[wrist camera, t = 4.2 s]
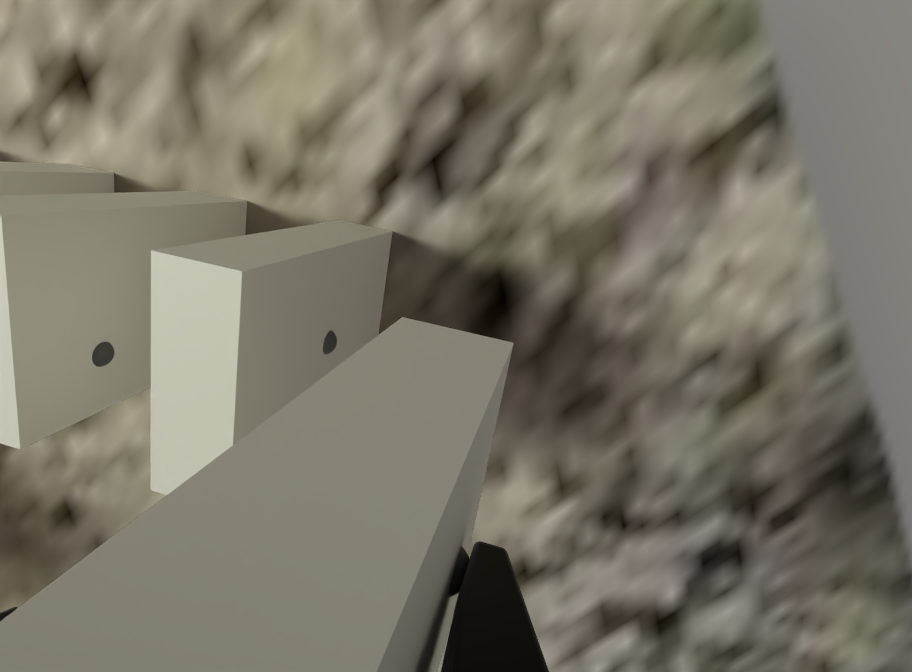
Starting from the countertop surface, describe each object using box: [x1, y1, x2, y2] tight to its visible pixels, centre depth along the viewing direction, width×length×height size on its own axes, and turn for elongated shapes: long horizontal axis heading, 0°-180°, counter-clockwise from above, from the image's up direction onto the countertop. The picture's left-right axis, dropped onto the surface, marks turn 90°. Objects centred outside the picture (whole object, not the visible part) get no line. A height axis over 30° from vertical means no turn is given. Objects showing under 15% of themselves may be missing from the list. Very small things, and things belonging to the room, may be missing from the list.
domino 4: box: [0, 317, 514, 672], centre depth 5 cm, size 5×2×8 cm, turn 170°
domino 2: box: [0, 191, 247, 449], centre depth 15 cm, size 5×2×8 cm, turn 170°
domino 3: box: [151, 220, 393, 495], centre depth 14 cm, size 5×2×8 cm, turn 170°
